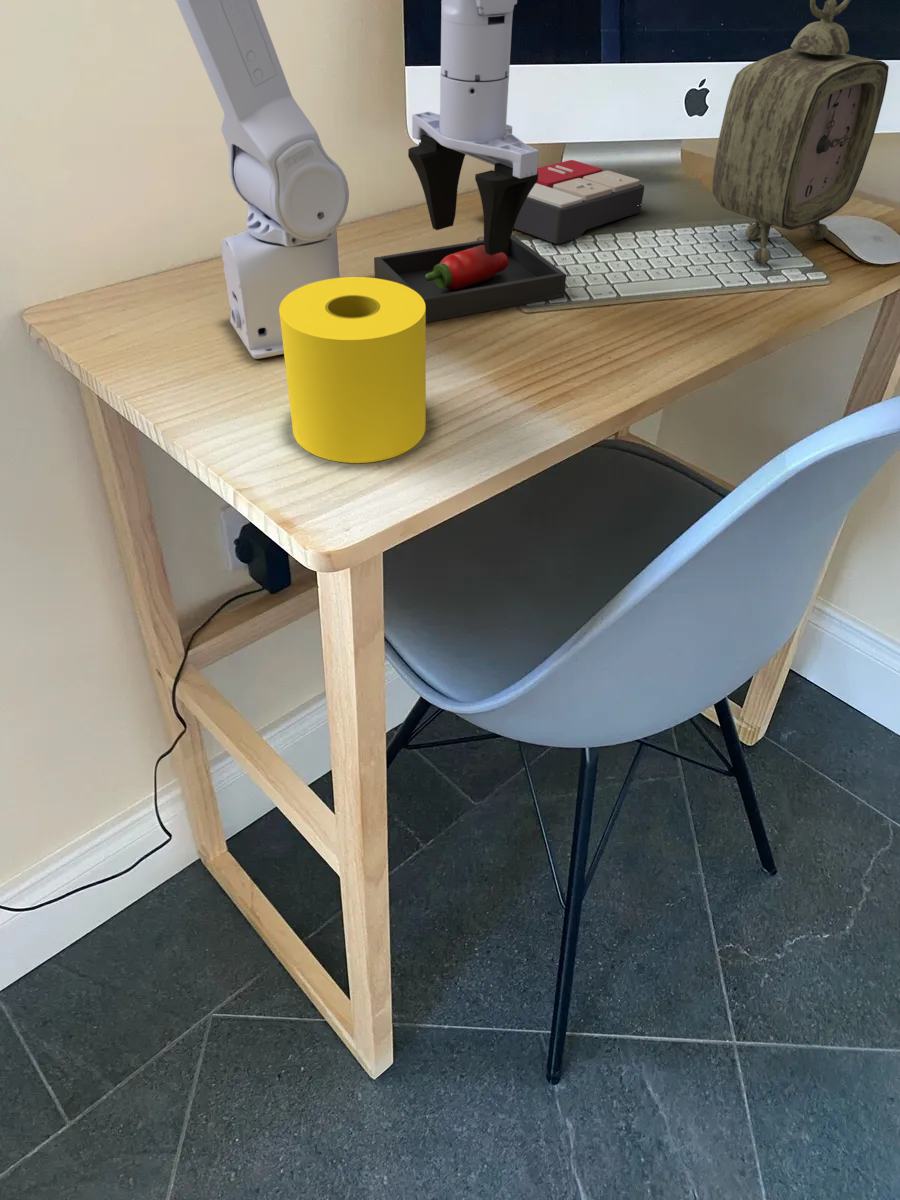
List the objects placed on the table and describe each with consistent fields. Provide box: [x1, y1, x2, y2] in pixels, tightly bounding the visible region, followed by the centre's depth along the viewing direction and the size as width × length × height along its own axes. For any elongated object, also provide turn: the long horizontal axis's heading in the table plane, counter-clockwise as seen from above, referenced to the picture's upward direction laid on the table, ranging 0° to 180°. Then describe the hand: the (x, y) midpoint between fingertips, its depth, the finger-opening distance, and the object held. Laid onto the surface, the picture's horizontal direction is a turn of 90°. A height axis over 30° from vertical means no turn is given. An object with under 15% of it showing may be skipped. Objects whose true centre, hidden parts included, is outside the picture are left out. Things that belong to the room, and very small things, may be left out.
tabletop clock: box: [711, 0, 890, 265], centre depth 89 cm, size 14×9×25 cm, turn 131°
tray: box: [373, 234, 567, 323], centre depth 87 cm, size 15×11×2 cm
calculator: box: [513, 159, 645, 245], centre depth 102 cm, size 11×4×15 cm
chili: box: [425, 245, 508, 290], centre depth 86 cm, size 10×3×3 cm, turn 130°
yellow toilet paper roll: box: [279, 276, 427, 464], centre depth 66 cm, size 10×10×9 cm
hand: (468, 239), depth 85 cm, fingers open, 7 cm apart
